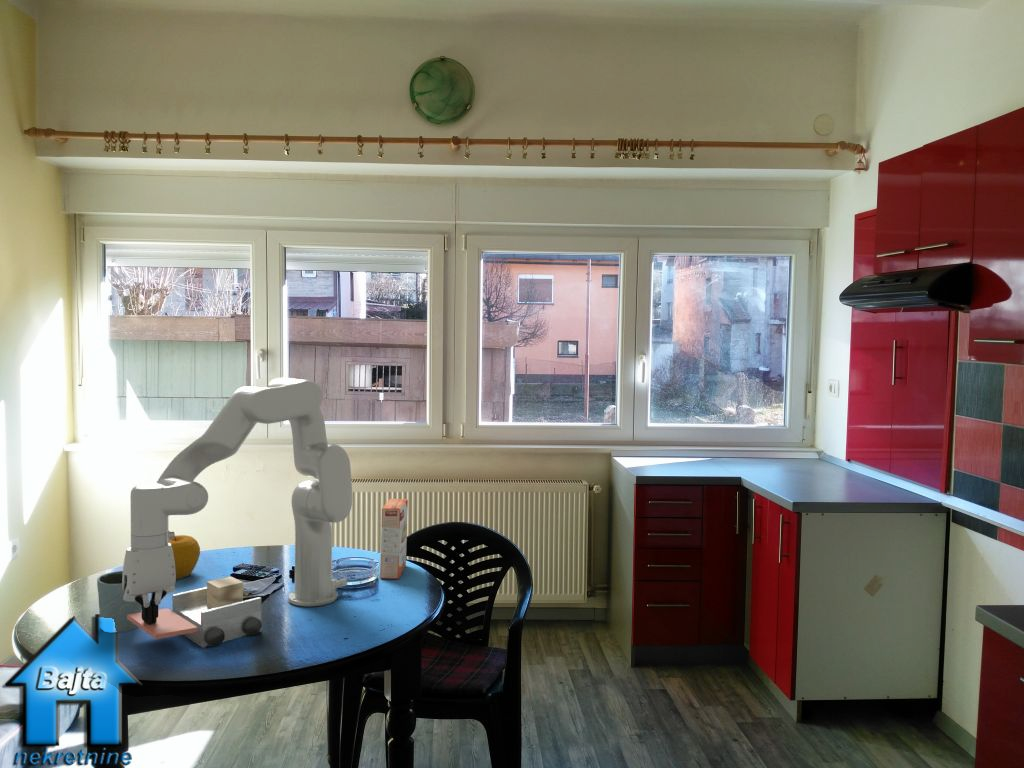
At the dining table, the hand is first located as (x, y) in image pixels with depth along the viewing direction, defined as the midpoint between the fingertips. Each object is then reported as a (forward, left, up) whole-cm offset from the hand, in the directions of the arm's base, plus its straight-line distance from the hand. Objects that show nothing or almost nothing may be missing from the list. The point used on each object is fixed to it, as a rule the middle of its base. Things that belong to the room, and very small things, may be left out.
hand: (150, 622), depth 168 cm
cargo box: (-17, 0, -1) cm, 17 cm away
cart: (-15, 0, -6) cm, 16 cm away
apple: (-25, -46, -6) cm, 53 cm away
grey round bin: (0, -17, -6) cm, 18 cm away
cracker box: (-73, -7, -6) cm, 74 cm away
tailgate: (-7, 0, -1) cm, 7 cm away
